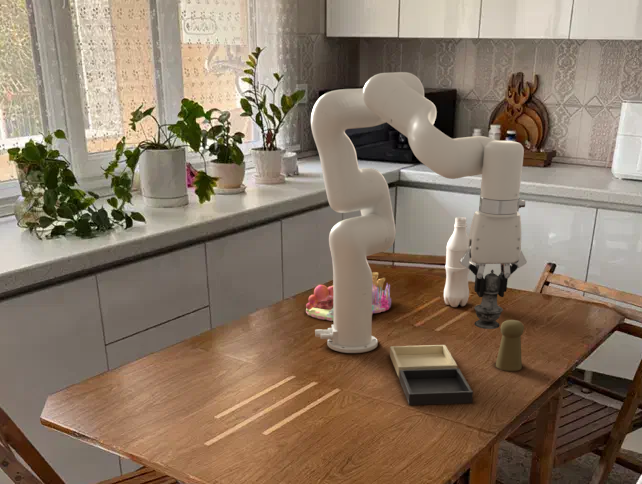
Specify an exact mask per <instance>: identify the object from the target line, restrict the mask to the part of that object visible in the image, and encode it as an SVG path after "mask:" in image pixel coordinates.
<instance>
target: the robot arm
mask: <svg viewBox="0 0 642 484" xmlns="http://www.w3.org/2000/svg"><path fill="white" fill-rule="evenodd" d="M437 113H438V111H437V107H436V105H435V104H434V102H432V101H431V100H429V99H428V98H427V97H425V88H424V85H423V83H422V81H421V79H420V78H419V77H418V76H416V75H415V74H413V73H411V72H407V71H397V72H395V71H393V72H380V73H376V74H374V75H373V76H371V77H369V78H368V79H367V80H366V82H365V84H364V86H363V87H362V88H343V89H342V88H341V89H334V90H331V91H327V92H325V93H324V94H322V95H321V96H320V97H319V98H317V100H316V101H315V103H314V105H313V108H312V110H311V114H310V128H311V133H312V137H313V140H314V143H315V146H316V149H317V152H318V155H319V160H320V167H321V172H322V177H323V184H324V188H325V193H326V198H327V201H328V205H329V207H330V208H331V210H333V211H334V212H336V213H339V214H347V213H353V212H359V211H360V215H359V216H354V217H350V218H349V217H348V218H346V219H343V220H340V221H338V222H337V223H335V224H334V225H333V227H332V228H331V230H330V231H329V235H328V244H329V245H328V246H329V250H330V256H331V262H332V282H333V283H332V285H333V308H334V321H333V324H331V327H327V329H314V337H315V338H320V340H327V341H326V344H327V347H328V348H329V349H331V350H332V351H336V352H338V353H344V354H361V353H367V352H370V351H373V350H375V349H376V348H377V347H378V343H379V341H378V338H377V337H375V336H374V335H372V333H373V331H372V330H373V327H372V326H373V325H372V324H373V314H372V269H371V266H370V265H369V262H368V259H367V257H369V256H372V255H377V254H380V253H383V252H386V251H388V250H389V249H390V248H392V246H393V244H394V242H395V240H396V224H395V223H396V222H395V217H394V212H393V205H392V199H391V194H390V189H389V185H388V182H387V180H386V178H385V176H384V175H383V174H382V173H381V171H379V170H377V169H376V168H372V167H361V168H360V165H359V161H358V156H357V150H356V148H355V146H354V144H353V142H352V140H351V139H350V137H349V136H348V135H347V133H346V131H347V130H351V129H363V128H373V127H376V126H380V125H383V124H385V123H387V124H388V125H390V126H391V127H392V128H394V129H395V130H396V131H398V132H399V133H400V134H402V135H403V136H404V137H406V138H407V142H408V145H409V147H410V149H411V151H412V153H413V155H414V156H415V157H416V159H417V160H418V161H419V162H420V163H422V164H423V165H424V166H425V167H427V168H428V169H430V170H431V171H433V173H435V174H437V175H439V176H440V177H443V178H445V179H450V180H451V179H452V180H455V179H461V178H466V177H472V176H479V175H480V176H481V183H480V194H479V195H480V196H479V205H478V210H476V211H474V213H473V216H472V219H471V220H472V221H471V225H470V227H469V228H470V229H469V234H468V237H469V240H468V247H467V251H466V252H465V253H464V255H463V256H462V258H461V259H460V263H461V264H462V265H463V266H465V267H466V268H468V269H470V271H471V273H472V274H473V275H474V276H475V278H474V288H473V290H474V292H475V293H476V295H477V296H478V297H479V298H482V297H483V294H484V283H485V277H484V272H485V269H486V265H500V273H499V274H498V275H497V276H498V277H499V281H498V291H499V293H498V295H497V296H499V297H500V298H504V296H505V293H507V291H508V282H509V281H508V279H509V278H511V276H512V274H513V273H514V272H516V270H518V269H520V268H521V267H523V266H525V265H526V264H527V259H526V257H525V255H524V253H523V251H522V218H521V213H520V212H519V210H520V209H522V208H525V207H526V200H524V199H523V200H522V199H521V198H520V190H521V181H522V173H523V172H522V171H523V166H524V165H523V164H524V153H525V148H524V146H523V145H522V143H521V142H517V141H512V140H498V139H494V138H492V137H488V136H484V135H483V136H482V135H475V136H466V137H465V136H464V137H456V138H453V137H450V136H449V135H447V134H445V133H444V132H442V131H441V130H440V129H439V128H437V127H436V126H435V125H434V124H435V121H436V119H437ZM470 258H471V262H469V259H470ZM474 263H475V265H474Z"/></svg>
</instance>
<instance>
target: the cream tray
mask: <svg viewBox="0 0 642 484" xmlns="http://www.w3.org/2000/svg"><path fill="white" fill-rule="evenodd" d="M389 357H390V359H391V363H392V366H393V367H394V370H395V373H396V375H397V377H398V378H399V374H400V370H415V369H448V368H458V364H457V362H456V361H455V359H454V356H453V355H452V354H451V352H450V350H449V349H448V347H447V346H446V344H425V345H393V346H392V345H390V347H389Z"/></svg>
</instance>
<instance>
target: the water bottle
mask: <svg viewBox="0 0 642 484" xmlns="http://www.w3.org/2000/svg"><path fill="white" fill-rule="evenodd" d="M454 219H455V220H454V225H453V227H454V229H453V232H452V234H451V236H450V237H449V239H448V241H447V244H446V246H445V247H446V248H445V249H446V250H445V251H446V254H445V265H444V267H445V275H446V276H445V284H444V289H443V300H444V303H445V305H446V306H450V307H452V308H457V307H458V306H459V305H460V307H464V306H466V305H467V304H468V301H469V297H470V289H469V276H470V271H471V270H470V269H468V268H466V267H465V266H463V265H462V264H461V263H460V259H461V258H462V256H463V255H464V253H465V252H466V251H467V247H468V240H469V234H468V232H467V227H468V225H467V217H463V216H457V217H455V218H454ZM469 262H471V263H472V260H471V258H470V259H469Z"/></svg>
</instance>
